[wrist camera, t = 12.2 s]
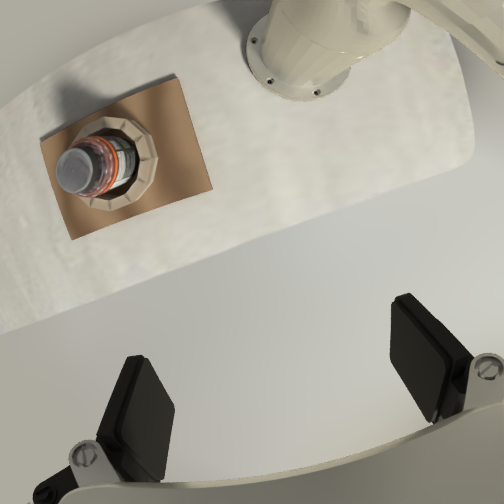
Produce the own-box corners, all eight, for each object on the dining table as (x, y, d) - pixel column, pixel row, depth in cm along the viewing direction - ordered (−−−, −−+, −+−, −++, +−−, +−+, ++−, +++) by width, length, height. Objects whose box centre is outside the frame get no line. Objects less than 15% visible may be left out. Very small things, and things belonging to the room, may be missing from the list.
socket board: (178, 79, 31) (172, 71, 27) (212, 188, 35) (210, 193, 32) (43, 143, 32) (26, 144, 28) (75, 238, 36) (61, 247, 32)
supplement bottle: (90, 178, 33) (40, 194, 22) (103, 131, 31) (54, 129, 20) (132, 191, 34) (92, 212, 23) (147, 143, 32) (109, 144, 21)
